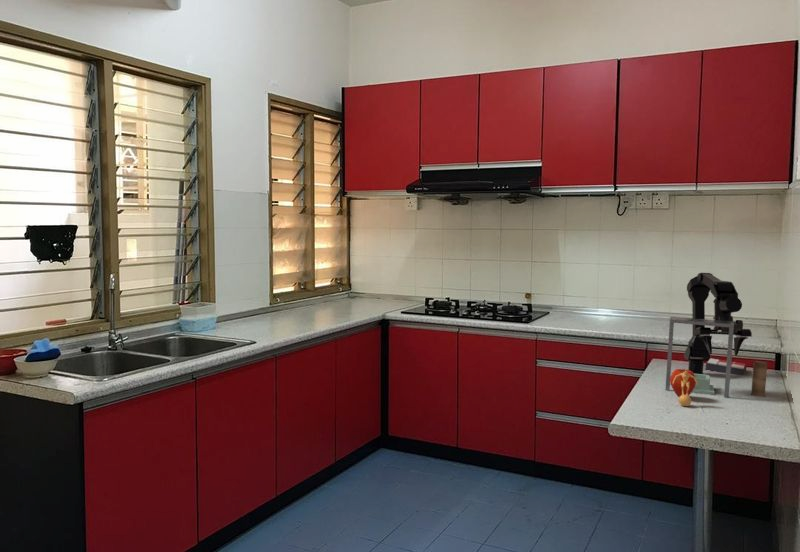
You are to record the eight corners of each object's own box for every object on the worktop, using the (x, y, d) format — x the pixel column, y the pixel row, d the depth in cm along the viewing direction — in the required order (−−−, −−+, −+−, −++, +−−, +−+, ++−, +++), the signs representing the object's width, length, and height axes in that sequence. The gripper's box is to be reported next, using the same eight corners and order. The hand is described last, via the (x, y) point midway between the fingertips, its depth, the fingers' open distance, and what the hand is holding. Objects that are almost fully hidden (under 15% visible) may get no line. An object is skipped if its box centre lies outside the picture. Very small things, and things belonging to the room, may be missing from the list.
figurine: (672, 406, 221) (674, 372, 220) (670, 401, 226) (672, 368, 225) (698, 408, 218) (700, 374, 217) (696, 404, 224) (698, 370, 223)
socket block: (679, 383, 253) (680, 371, 253) (712, 387, 248) (713, 374, 248) (678, 390, 242) (679, 377, 242) (714, 394, 237) (715, 381, 237)
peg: (749, 393, 241) (752, 360, 240) (762, 394, 240) (765, 361, 239) (753, 396, 237) (755, 363, 236) (766, 397, 236) (768, 364, 235)
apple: (667, 398, 230) (669, 369, 229) (670, 393, 237) (671, 365, 237) (694, 402, 226) (696, 372, 225) (695, 397, 234) (697, 368, 233)
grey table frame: (666, 385, 250) (670, 316, 247) (727, 392, 241) (732, 321, 239) (665, 390, 242) (669, 319, 240) (728, 398, 233) (733, 324, 231)
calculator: (744, 367, 270) (706, 361, 278) (743, 377, 271) (704, 370, 279) (747, 363, 279) (709, 357, 287) (745, 373, 280) (708, 366, 288)
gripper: (705, 311, 237) (705, 353, 235) (758, 313, 235) (758, 356, 234) (694, 313, 248) (694, 353, 246) (744, 315, 246) (745, 356, 245)
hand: (723, 355), depth 242 cm, fingers open, 9 cm apart
